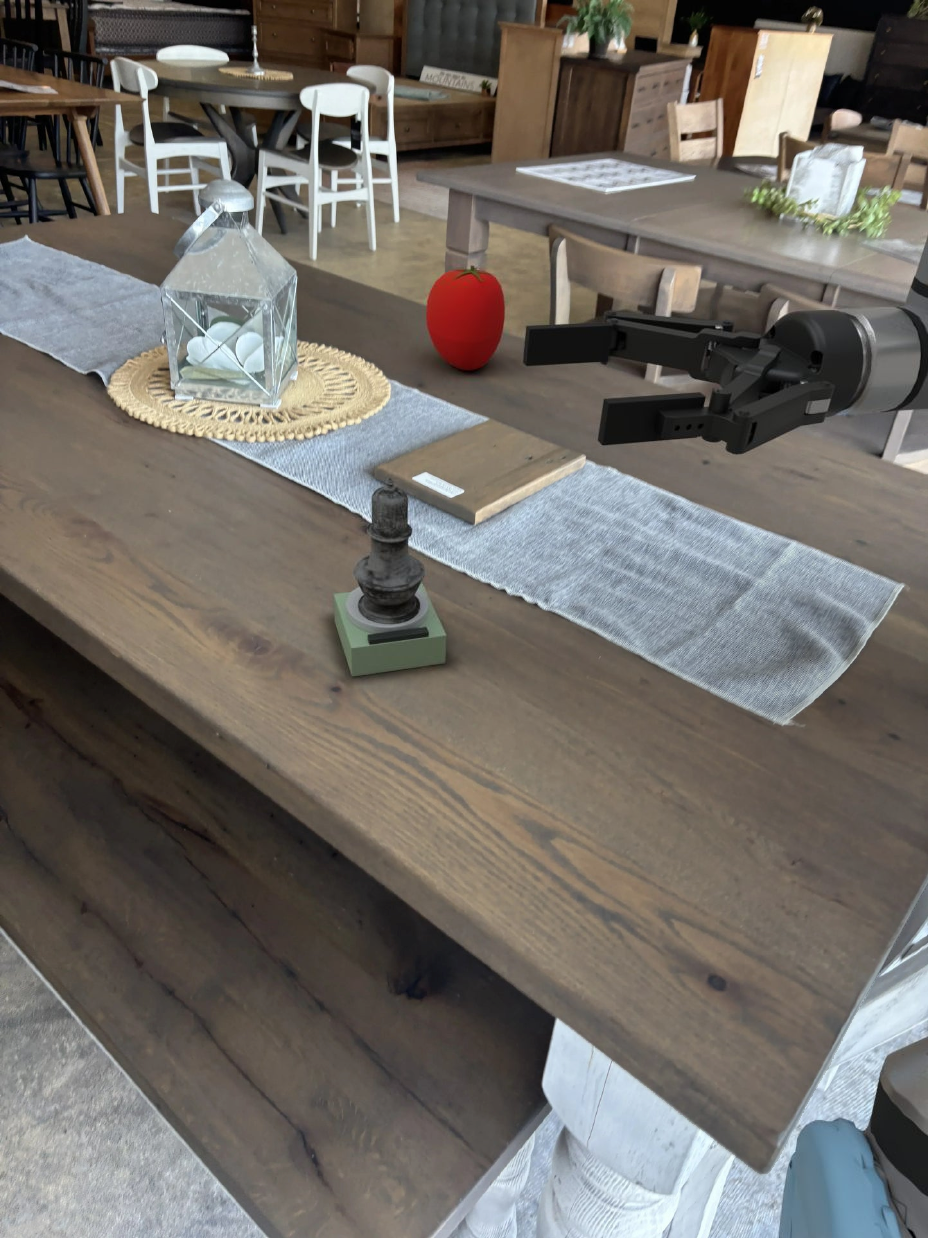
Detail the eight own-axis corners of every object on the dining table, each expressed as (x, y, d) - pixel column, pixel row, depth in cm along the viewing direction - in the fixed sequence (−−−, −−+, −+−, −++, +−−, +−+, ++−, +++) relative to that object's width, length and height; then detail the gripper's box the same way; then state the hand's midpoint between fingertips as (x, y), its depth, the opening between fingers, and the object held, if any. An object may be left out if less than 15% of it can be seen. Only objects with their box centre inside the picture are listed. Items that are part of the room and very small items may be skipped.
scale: (445, 663, 77) (447, 627, 75) (351, 677, 75) (351, 640, 72) (421, 610, 83) (422, 575, 81) (334, 621, 81) (333, 585, 79)
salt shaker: (406, 633, 73) (408, 502, 67) (341, 615, 75) (337, 485, 68) (434, 597, 78) (440, 470, 71) (373, 580, 80) (372, 454, 73)
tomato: (505, 381, 130) (513, 279, 122) (426, 379, 129) (429, 276, 121) (495, 350, 140) (502, 255, 132) (422, 349, 139) (425, 252, 131)
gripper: (932, 489, 58) (633, 522, 53) (732, 354, 77) (497, 368, 72) (977, 376, 54) (656, 399, 48) (753, 263, 73) (504, 270, 67)
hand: (560, 380), depth 60 cm, fingers open, 13 cm apart
